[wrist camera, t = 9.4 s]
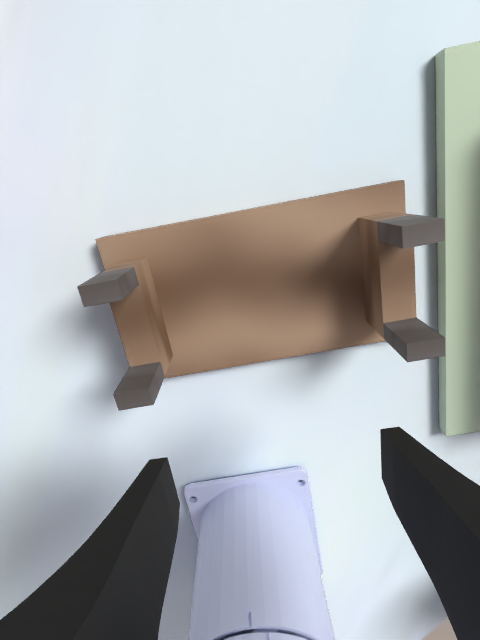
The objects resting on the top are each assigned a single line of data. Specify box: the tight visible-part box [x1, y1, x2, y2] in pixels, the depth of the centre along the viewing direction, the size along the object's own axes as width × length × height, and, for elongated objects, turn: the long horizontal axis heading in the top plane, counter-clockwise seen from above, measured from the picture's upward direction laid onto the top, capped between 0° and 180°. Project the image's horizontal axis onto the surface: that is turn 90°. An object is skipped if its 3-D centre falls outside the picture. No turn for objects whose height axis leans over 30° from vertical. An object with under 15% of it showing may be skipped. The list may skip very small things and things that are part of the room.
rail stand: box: [78, 180, 445, 410], centre depth 17 cm, size 8×15×6 cm, turn 100°
